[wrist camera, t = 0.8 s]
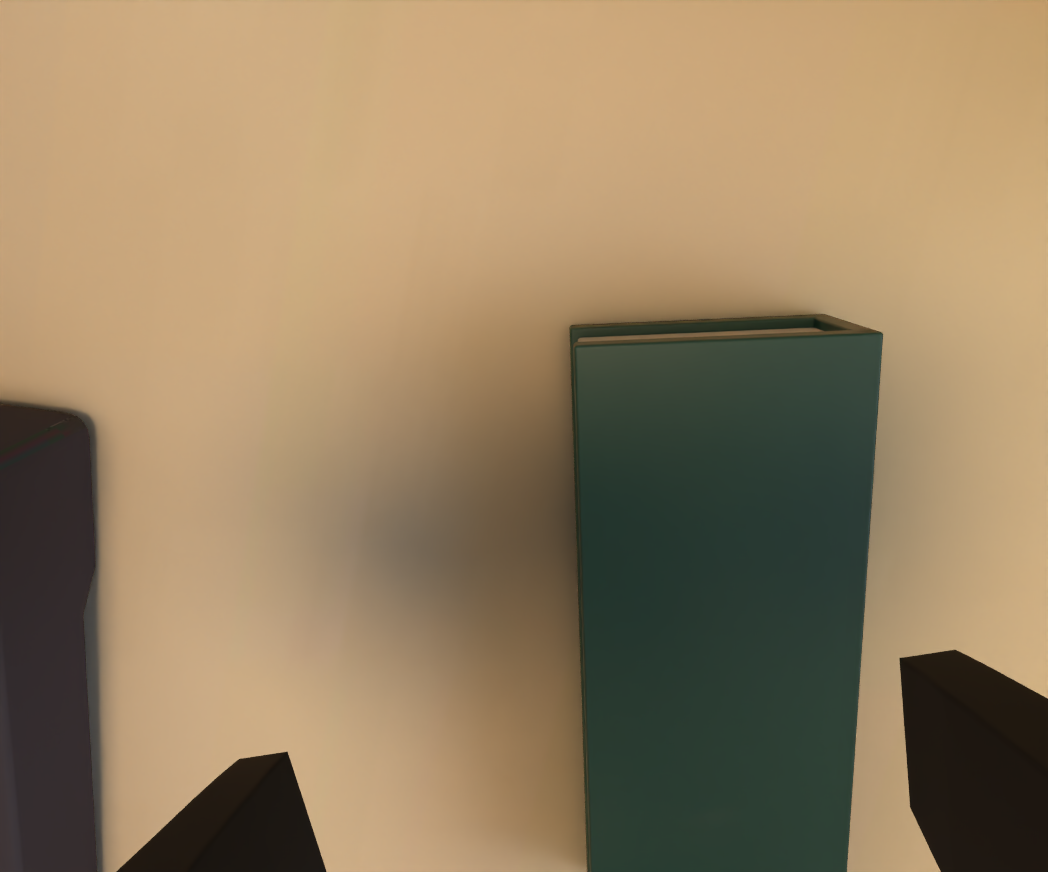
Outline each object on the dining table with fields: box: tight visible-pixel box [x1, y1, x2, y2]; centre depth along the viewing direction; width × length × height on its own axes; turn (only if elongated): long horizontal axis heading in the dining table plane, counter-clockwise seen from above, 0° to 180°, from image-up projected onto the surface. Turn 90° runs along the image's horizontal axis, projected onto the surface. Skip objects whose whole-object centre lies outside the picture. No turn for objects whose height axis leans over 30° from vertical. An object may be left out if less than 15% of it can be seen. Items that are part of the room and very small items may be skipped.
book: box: [570, 314, 883, 872], centre depth 17 cm, size 14×5×3 cm, turn 3°
